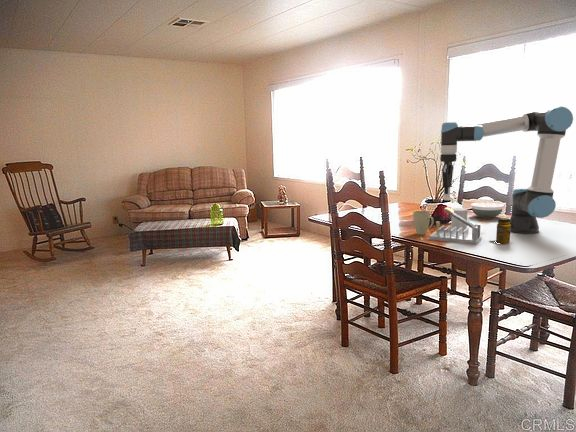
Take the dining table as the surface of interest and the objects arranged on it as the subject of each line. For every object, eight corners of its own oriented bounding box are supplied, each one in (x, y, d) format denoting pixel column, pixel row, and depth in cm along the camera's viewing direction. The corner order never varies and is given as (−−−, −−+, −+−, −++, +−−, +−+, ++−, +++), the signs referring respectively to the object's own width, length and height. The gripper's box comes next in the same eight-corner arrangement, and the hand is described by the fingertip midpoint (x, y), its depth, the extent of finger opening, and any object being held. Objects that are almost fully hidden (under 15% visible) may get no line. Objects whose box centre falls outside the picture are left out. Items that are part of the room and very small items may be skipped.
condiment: (513, 243, 201) (515, 219, 198) (498, 245, 199) (500, 221, 197) (503, 240, 208) (504, 216, 205) (488, 241, 206) (489, 218, 204)
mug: (411, 235, 225) (412, 213, 222) (413, 231, 234) (413, 210, 231) (433, 236, 221) (433, 214, 218) (434, 232, 230) (434, 211, 227)
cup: (468, 231, 227) (469, 210, 224) (452, 231, 228) (453, 210, 226) (464, 228, 234) (465, 207, 232) (449, 228, 236) (450, 208, 234)
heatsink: (481, 239, 211) (482, 223, 210) (476, 244, 202) (477, 228, 200) (435, 234, 224) (436, 220, 223) (429, 239, 215) (429, 224, 213)
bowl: (474, 213, 274) (474, 201, 272) (505, 215, 263) (506, 203, 261) (467, 218, 259) (467, 206, 257) (500, 221, 248) (501, 207, 246)
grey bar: (478, 231, 208) (480, 227, 207) (476, 232, 204) (479, 229, 203) (444, 210, 215) (447, 206, 214) (442, 211, 212) (444, 207, 211)
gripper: (444, 152, 215) (442, 197, 219) (437, 154, 204) (435, 201, 209) (459, 152, 210) (457, 198, 215) (452, 154, 200) (450, 202, 205)
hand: (446, 199), depth 212 cm, fingers closed
